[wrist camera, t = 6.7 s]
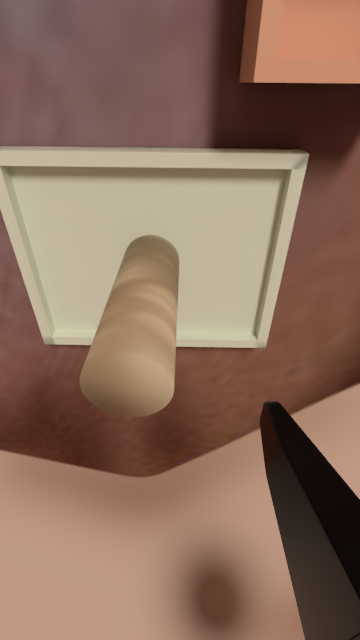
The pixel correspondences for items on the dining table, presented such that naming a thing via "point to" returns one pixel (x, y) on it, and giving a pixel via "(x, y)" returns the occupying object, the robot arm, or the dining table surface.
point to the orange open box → (301, 42)
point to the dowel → (136, 334)
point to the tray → (152, 232)
